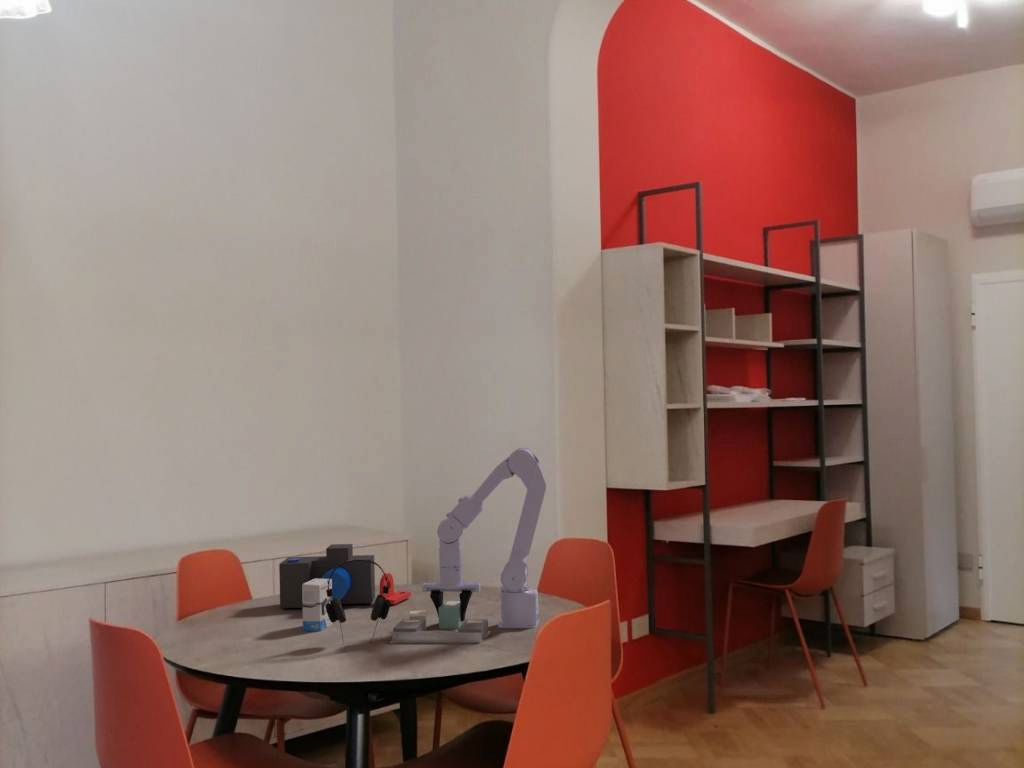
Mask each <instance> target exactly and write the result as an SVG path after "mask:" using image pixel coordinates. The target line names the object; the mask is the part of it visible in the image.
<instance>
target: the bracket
mask: <svg viewBox="0 0 1024 768" xmlns="http://www.w3.org/2000/svg"><path fill="white" fill-rule="evenodd" d="M384 573H385V575H386V577H388V579H387V585H388V586H389V592H388V594H386V595H385V593H383V586H386V579H385V575H384ZM384 573H383V574H382V575H381V577H380V580H379V595H382V596H383V597H385V598H386V600H387V599H388V600H390V602H391V603H390V605H396V604H398V603H400V602H402V601H405V600H406V599H408V598H410V597H412V593H411V591H407V590H406V591H402V590H401V591H400V590H397V591H396V592H395V589H394V587H395V586H394V578H393V577H394V576H393V575H392V574H391V573H390V572H384Z"/></svg>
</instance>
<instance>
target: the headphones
mask: <svg viewBox="0 0 1024 768" xmlns="http://www.w3.org/2000/svg"><path fill="white" fill-rule="evenodd" d="M351 561H367V562H371V563H373V564H374V566H377V567H378V568H379V569H380V570H381V572H382V573H383V574H384V575H385V573H386V572H385V571H384V570H383V568H382V567H381V566H380V565H379V564H378V563H377V562H375V561H374V562H373V561H371V560H367V559H352V560H347V561H345V562H343V563H341V564H339V565H338V566H337V567H336V568H335V569H334V570H333V572H332V573H331V575H330V578H331V576H332V574H333V573H334V571H335V570H336V569H337V568H338V567H339V566H341V565H342V564H345V563H348V562H351ZM330 578H329V580H327V581H328V589H327V590H326V592H327V597H330V600H331V596H333V593H332V589H330V588H329V582H330ZM385 579H386V586H383V593H385V595H386V594H388V592H389V586H388V585H387V579H388V577H386V575H385ZM390 603H391V602H390V600H388V599H387V600H386V598H385V597H383V596H382V595H380V594H378V595H376V596H375V599H374V601H373V605H372V610H371V614H370V619H371V620H372V621H375V622H376V621H377V622H376V624H375V628H374V630H377V629H376V628H377V625H378V621H379V620H380V619H381V620H383V621H384V620H385V619H387V617H388V614H389V611H390V608H391V604H390ZM325 607H326V611H327V614H328V617H329V619H330V621H331V622H332V623H333V624H334V623H336V621H338V622H339V625H340V629H341V630H340V631H341V632H343V628H342V623H345V622H346V621H347V617H346V613H345V610H344V608H343V605H342V604H341V601H340V599H339V598H338V597H335V598H333V600H331V601H330V603H326V605H325ZM375 633H376V631H374V632H373V635H372V637H371V638H370V641H368V643H370V642H371V641H372V640H373V638H374V637H375ZM341 637H342V639H344V637H343V634H341ZM342 642H343V643H345V641H344V640H342Z"/></svg>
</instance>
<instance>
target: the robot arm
mask: <svg viewBox="0 0 1024 768" xmlns="http://www.w3.org/2000/svg"><path fill="white" fill-rule="evenodd" d="M515 475H516V476H517V477H518V478H519V479H520V480H521V482H522V483H523V485H524V486H525V488H526V490H527V491H526V494H525V497H524V501H523V505H522V508H521V513H520V516H519V517H520V518H519V520H518V525H517V529H516V532H515V537H514V540H513V544H512V547H511V551H510V553H509V554H510V555H509V559H508V561H507V562H506V564H505V565H504V567H503V569H502V571H501V573H500V583H501V585H502V586H500V617H501V618H500V619H501V620H500V623H498V625H497V628H499V629H536V628H537V626H538V624H539V622H540V611H539V607H540V606H539V592H538V589H531V588H530V585H528V583H527V578H528V575H529V568H528V561H529V560H528V559H529V556H530V552H531V548H532V544H533V541H534V537H535V533H536V528H537V525H538V521H539V519H540V518H539V517H540V513H541V509H542V506H543V502H544V498H545V494H546V491H547V480H546V478H545V476H544V472H543V469H542V467H541V463H540V460H539V458H538V457H537V456H536V454H535V453H534V452H533V450H531V449H529V448H527V447H520V448H516V449H515V450H514V451H513V452H511V454H510V455H509V456H508V457H506V458H505V459H504V460H503V461H501V462H500V463H499V464H497V466H496V467H495V468H494V469H493V470H492V471H491V472H490V473H489V475H488V476H487V477H486V478H485V480H484V481H483V482H482V483H481V484H480V486H479V487H478V488H477V490H476V491H475V492H474V493H473V494H465V495H464V496H460V497H459V498H458V500H457V502H458V503H457V504H456V505H455V506H454V507H453V508H452V510H451V511H450V512H449V511H448V512H447V513H446V514H445V516H446V518H445V519H443V520H441V521H440V522H439V525H438V527H437V530H436V533H437V537H438V539H439V544H438V545H439V548H438V555H439V556H438V558H439V564H438V565H439V582H424V583H422V584H421V585H422V588H421V590H422V591H421V592H422V593H427V592H430V594H429V597H430V599H431V601H432V603H433V605H434V608H435V610H436V613H437V617H438V618H439V607H440V606H441V605H442V604H443V603H444V592H448V593H449V592H452V593H453V592H459V601H460V605H461V621H464V620H465V619H466V613H467V609H468V605H469V602H470V599H471V597H472V596H473V593H480V591H481V583H480V582H466V581H463V552H462V551H463V549H462V548H463V547H462V540H461V539H462V538H461V537H462V534H463V532H464V530H465V529H467V528H468V527H469V526H470V525H471V524H472V523H473V521H474V520H476V518H477V517H478V516H479V515H480V514H481V512H483V510H484V507H483V502H484V501H485V500H486V499H487V498H488V497H489V496H490V495H491V493H492V492H493V491H494V490H495V489H496V488H497V487H498V486H499V485H500V484H501V482H503V481H504V480H507V479H510V478H512V477H514V476H515Z"/></svg>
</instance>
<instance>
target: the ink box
mask: <svg viewBox="0 0 1024 768" xmlns="http://www.w3.org/2000/svg"><path fill="white" fill-rule="evenodd" d="M327 580H329V579H317V578H316V579H313V580H310V581H308V582H306V583H304V584H303V585H302V603H303V608H302V632H322V631H323V630H325V629H327V628H329V627H330V626H332V625H333V624H334V623H332V622H331V621H330V619H329V617H328V614H327V611H326V607H325V605H326V603H330V601H331V600H332V596H331V600H330V597H327V592H326V590H327V589H328V581H327ZM329 588H330V589H332V579H330V582H329Z"/></svg>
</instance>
